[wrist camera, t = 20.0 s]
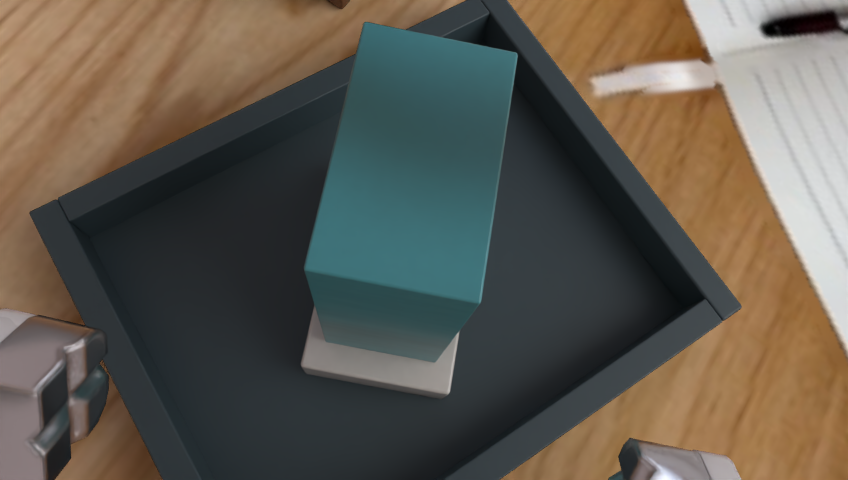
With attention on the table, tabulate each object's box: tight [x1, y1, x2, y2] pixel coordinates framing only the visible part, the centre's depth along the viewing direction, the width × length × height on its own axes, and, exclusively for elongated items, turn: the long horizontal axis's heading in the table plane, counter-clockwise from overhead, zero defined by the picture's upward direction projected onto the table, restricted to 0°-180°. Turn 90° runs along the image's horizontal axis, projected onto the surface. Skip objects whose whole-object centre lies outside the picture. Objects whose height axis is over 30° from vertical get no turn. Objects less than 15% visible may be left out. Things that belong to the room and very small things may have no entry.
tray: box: [30, 0, 741, 480], centre depth 19 cm, size 16×13×2 cm
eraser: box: [301, 22, 518, 399], centre depth 16 cm, size 6×4×8 cm, turn 170°
